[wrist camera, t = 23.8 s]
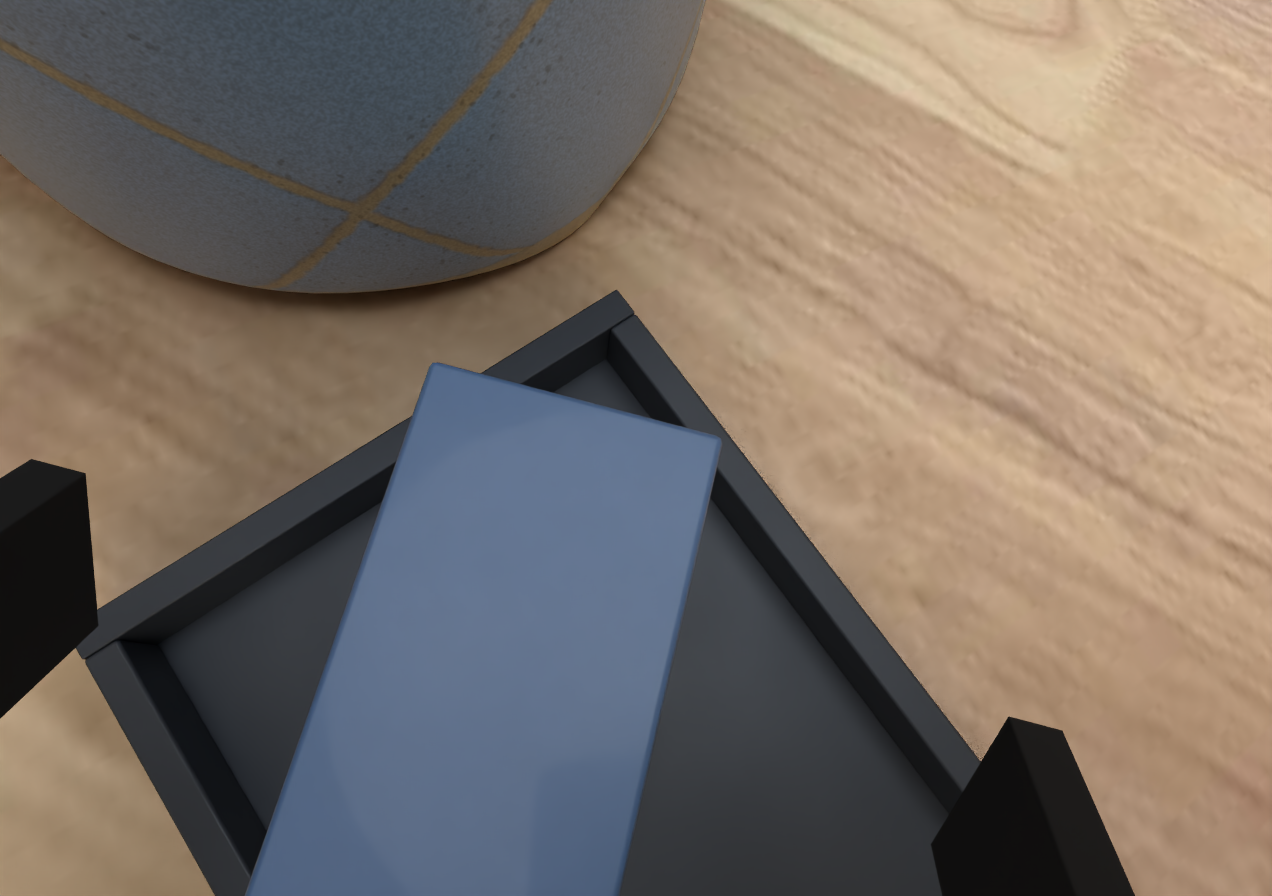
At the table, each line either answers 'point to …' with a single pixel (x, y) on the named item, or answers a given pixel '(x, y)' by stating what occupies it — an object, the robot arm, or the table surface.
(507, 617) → the eraser
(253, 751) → the tray
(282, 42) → the planter
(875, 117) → the table surface
